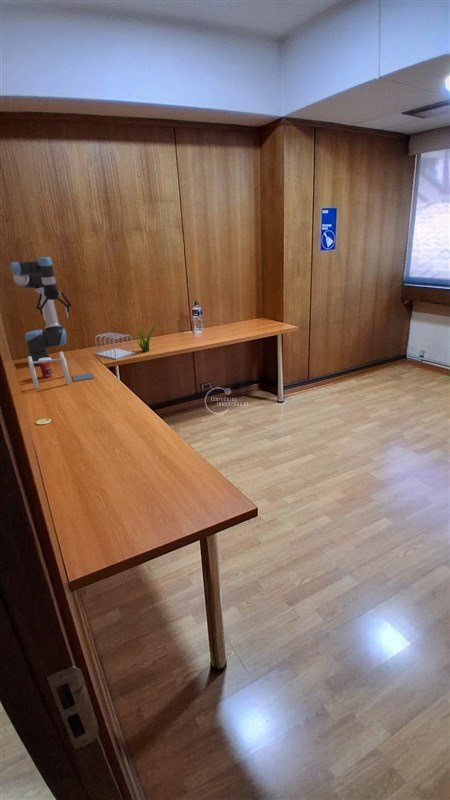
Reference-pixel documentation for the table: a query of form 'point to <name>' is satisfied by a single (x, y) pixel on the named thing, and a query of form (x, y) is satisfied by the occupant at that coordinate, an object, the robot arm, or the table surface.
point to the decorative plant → (145, 343)
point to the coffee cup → (46, 368)
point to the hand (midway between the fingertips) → (56, 318)
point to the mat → (83, 377)
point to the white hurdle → (62, 359)
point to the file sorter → (114, 352)
